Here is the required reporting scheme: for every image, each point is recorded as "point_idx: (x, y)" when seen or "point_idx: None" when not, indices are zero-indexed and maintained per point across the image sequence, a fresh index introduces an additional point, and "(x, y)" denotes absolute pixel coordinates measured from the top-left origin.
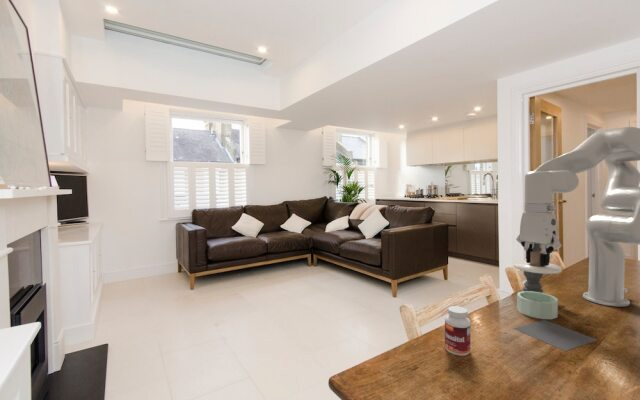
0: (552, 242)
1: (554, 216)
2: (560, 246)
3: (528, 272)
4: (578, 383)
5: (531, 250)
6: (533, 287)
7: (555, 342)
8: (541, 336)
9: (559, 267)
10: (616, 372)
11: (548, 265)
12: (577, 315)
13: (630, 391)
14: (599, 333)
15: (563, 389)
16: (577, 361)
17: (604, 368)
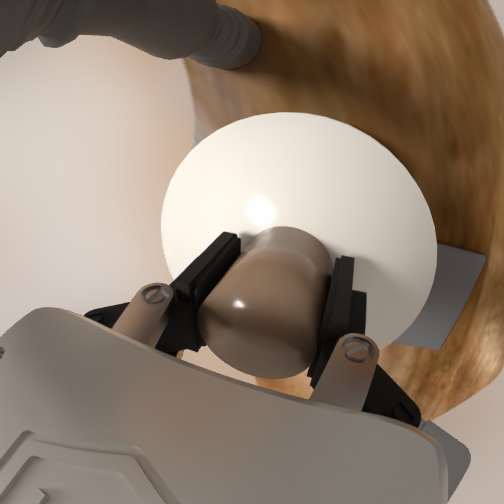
0: (365, 425)
1: None
2: (459, 458)
3: (171, 56)
4: (450, 397)
5: (191, 320)
6: (226, 54)
7: (422, 333)
8: None
9: (415, 212)
10: (495, 348)
11: (336, 209)
12: (408, 88)
13: (497, 374)
14: (485, 199)
15: (436, 413)
16: (453, 358)
17: (484, 350)
